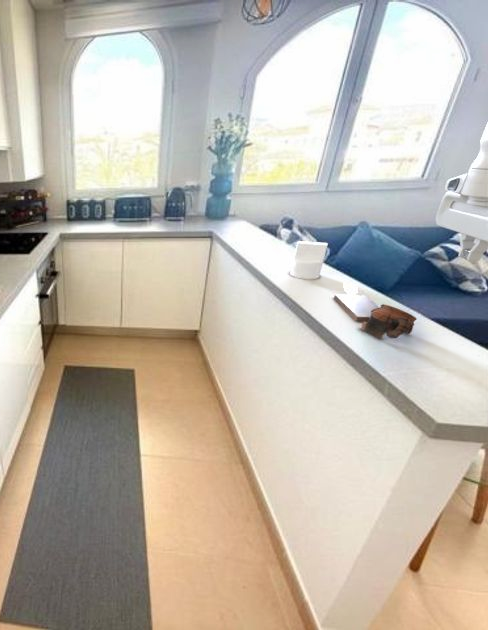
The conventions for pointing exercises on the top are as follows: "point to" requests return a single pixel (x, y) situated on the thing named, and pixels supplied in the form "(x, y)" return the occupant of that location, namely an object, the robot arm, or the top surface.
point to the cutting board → (357, 306)
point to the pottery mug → (380, 325)
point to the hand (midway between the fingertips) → (468, 259)
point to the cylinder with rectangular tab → (308, 259)
